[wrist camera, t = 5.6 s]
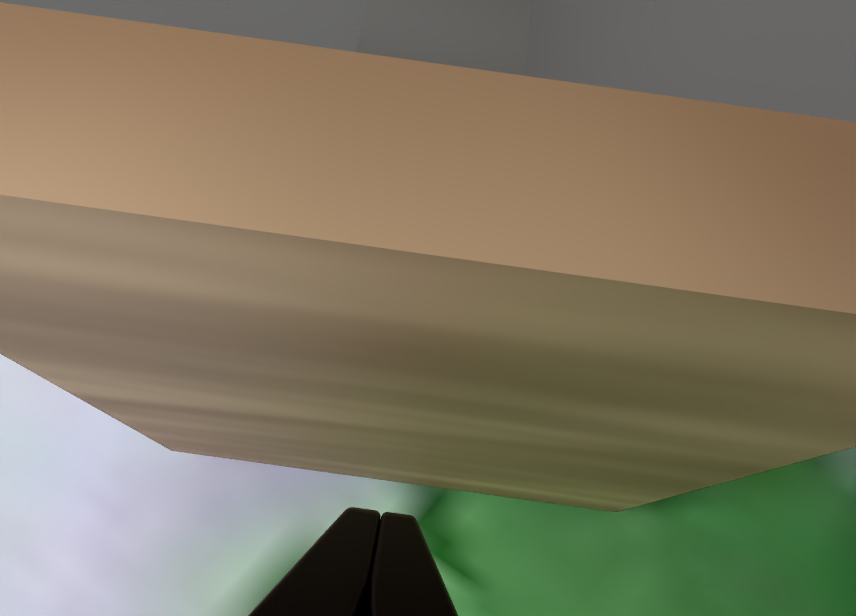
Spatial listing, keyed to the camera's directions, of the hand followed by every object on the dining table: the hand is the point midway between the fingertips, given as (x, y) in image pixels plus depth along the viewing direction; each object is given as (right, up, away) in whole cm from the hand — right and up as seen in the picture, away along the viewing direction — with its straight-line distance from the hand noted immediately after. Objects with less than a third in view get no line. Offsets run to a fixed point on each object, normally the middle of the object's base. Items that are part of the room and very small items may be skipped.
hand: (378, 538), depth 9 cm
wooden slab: (-1, +3, +9) cm, 9 cm away
